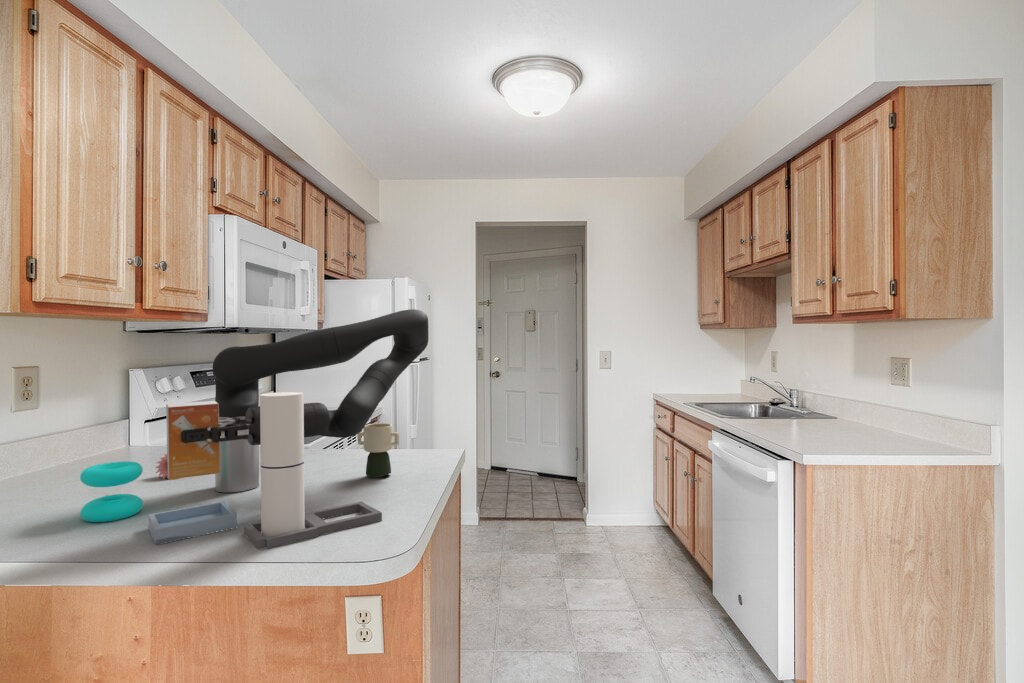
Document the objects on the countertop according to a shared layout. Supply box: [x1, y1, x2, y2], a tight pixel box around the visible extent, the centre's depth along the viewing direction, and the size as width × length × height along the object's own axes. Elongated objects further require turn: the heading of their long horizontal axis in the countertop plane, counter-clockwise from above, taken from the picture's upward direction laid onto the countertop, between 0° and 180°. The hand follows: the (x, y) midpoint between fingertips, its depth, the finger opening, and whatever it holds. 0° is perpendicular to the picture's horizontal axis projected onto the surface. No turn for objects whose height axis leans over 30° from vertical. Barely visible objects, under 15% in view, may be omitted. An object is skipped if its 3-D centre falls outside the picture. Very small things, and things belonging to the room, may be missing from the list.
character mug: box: [357, 422, 400, 478], centre depth 137 cm, size 11×7×13 cm, turn 82°
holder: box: [243, 501, 383, 550], centre depth 100 cm, size 11×22×2 cm, turn 129°
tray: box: [147, 500, 238, 546], centre depth 100 cm, size 11×13×3 cm
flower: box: [155, 453, 169, 480], centre depth 139 cm, size 8×8×6 cm
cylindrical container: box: [259, 391, 306, 538], centre depth 97 cm, size 7×7×25 cm
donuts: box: [79, 461, 144, 523], centre depth 108 cm, size 10×10×10 cm
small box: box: [165, 400, 220, 481], centre depth 100 cm, size 8×6×13 cm
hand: (178, 434), depth 99 cm, fingers closed on small box, 6 cm apart
